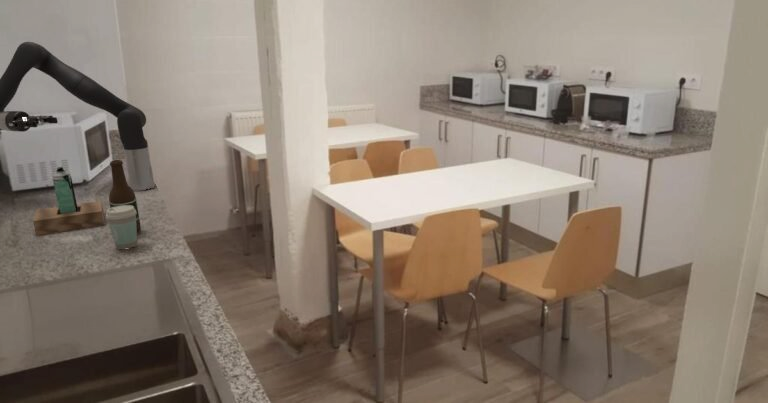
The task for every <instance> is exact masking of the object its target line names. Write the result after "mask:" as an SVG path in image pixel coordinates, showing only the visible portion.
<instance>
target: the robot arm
mask: <svg viewBox="0 0 768 403" xmlns="http://www.w3.org/2000/svg"><path fill="white" fill-rule="evenodd" d="M33 68H34V69H36V70H37V71H40V72H42V73H44V74H45V75H47V76H49V77H51V78H52V79H54V80H55V81H56V82H57V83H58V84H59V85H60V86H61V87H62V88H64V90H66V92H69V94H71V95H73V96H74V97H76V98H77V99H79V100H80V101H82V102H84V103H85V104H87V105H90V106H92V107H94V108H97V109H100V110H103V111H106V112H107V113H109V114H111V115H112V116H113V117H115V118H116V120H117V121H116V124H117V129H118V134H119V139H120V142H121V144H122V147H123V150H124V151H123V152H124V157H125V162H126V170H127V177H128V181H129V186H130V187H131V188H132V190H133V191H134V192H140V191H146V189H148V190H150V188H151V189H154V188H155V181H154V173H153V168H152V167H153V166H152V163H151V158H150V150H149V144H148V140H147V139H146V137H145V135H144V130H143V128H144V127H145V125H146V123H147V117H146V115H145V113H144V111H143V110H141V109H140V108H139V107H137V106H135V105H132V104H131V103H129V102H126V101H125V100H123V99H121V98H119V97H118V96H117V95H115V94H114V93H112V92H111V91H110V90H109V89H107V88H106V87H104V86H103V85H101V84H100V83H97V82H96V81H95V80H94V79H92V78H91V77H89V76H88V75H86V74H84V73H83V72H81V71H79V70H77V69H76V68H74V67H72V66H70V65H68V64H66V63H64V62H63V61H61V60H60V59H59V58H58V57H57V56H55V55H54V54H52V53H51V52H50V51H49V50H48V49H46V48H45V47H44V46H43V45H41V44H39V43H37V42H36V43H35V42H33V41H24V42H21V43H20V44H19V45H18V47H17V48H16V49H15V52H14V53H13V56H12V58H11V60H10V62H9V64H8V65H7V67H6V69H5V71H4V72H3V74H2V75H1V77H0V131H6V132H19V133H20V132H22V133H23V132H27V131H28V130H30V128H37V127H38V126H44V125H45V124H47V125H48V124H49V125H50V124H59V123H58V117H56V116H55V117H54V115H29V113H27V111H23V110H21V111H20V110H6V111H5V109H6V108H7V107H8V105H9V104H10V103H11V101H12V100H13V98H14V97H15V95H16V94H17V91H18V89H19V87H20V84H21V83H22V80H23V79H24V77H25V76H26V75H27V73H29V72H30V71H31V69H33Z"/></svg>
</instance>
